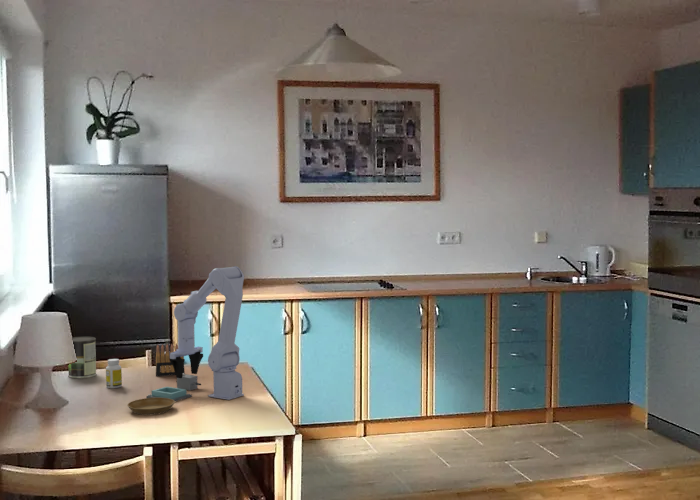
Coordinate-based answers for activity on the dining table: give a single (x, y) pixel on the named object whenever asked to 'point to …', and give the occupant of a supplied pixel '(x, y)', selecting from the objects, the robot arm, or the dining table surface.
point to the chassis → (169, 393)
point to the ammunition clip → (165, 361)
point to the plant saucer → (151, 405)
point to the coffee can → (83, 358)
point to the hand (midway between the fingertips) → (186, 375)
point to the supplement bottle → (113, 374)
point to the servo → (187, 382)
